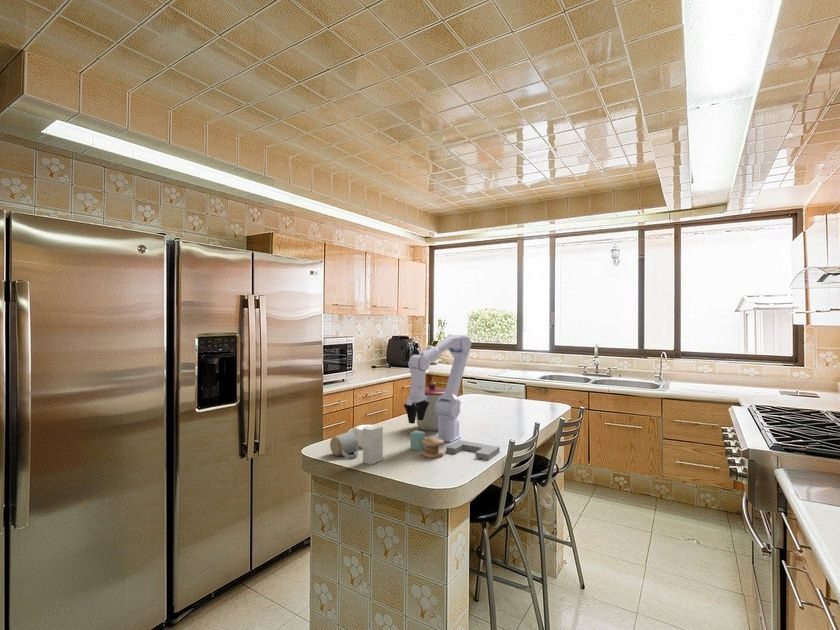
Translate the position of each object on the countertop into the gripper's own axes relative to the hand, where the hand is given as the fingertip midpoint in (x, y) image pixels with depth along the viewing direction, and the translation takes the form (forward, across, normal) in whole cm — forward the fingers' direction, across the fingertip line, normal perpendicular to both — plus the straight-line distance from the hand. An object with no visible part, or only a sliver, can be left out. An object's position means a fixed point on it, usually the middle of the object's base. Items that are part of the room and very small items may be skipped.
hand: (416, 421), depth 167 cm
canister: (+9, -31, -7) cm, 33 cm away
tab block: (+10, -2, 0) cm, 11 cm away
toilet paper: (+11, +4, -21) cm, 25 cm away
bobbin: (+10, +3, +9) cm, 14 cm away
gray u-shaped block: (+10, -6, +22) cm, 25 cm away
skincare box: (+12, +20, -7) cm, 24 cm away
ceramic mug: (+12, +18, -19) cm, 29 cm away
